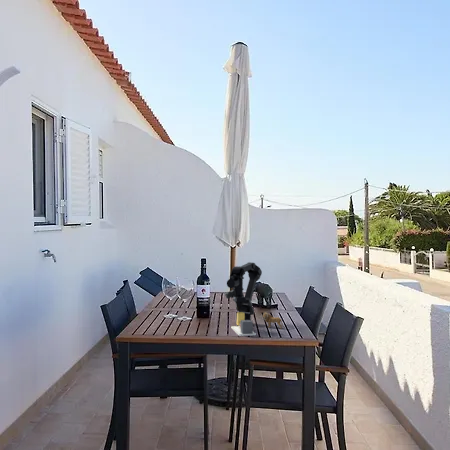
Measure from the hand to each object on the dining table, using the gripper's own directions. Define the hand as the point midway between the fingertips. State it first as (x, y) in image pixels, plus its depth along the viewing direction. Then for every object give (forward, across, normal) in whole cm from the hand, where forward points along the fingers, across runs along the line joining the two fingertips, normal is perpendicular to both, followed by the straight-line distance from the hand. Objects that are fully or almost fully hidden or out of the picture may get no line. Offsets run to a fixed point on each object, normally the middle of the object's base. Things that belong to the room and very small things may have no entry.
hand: (238, 311), depth 300 cm
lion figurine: (+10, +6, +21) cm, 24 cm away
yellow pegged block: (+7, +8, 0) cm, 10 cm away
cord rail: (+10, +15, 0) cm, 18 cm away
